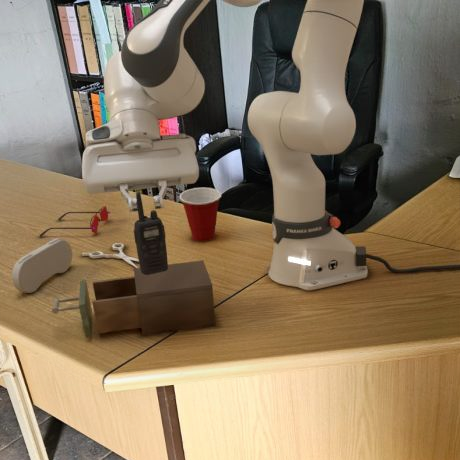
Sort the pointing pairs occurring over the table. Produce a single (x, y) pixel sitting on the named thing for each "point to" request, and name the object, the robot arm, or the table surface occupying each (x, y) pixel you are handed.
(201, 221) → the plastic cup
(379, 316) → the table surface
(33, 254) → the game controller
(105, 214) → the glasses
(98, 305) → the drawer
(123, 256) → the scissors
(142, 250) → the two-way radio
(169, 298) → the cabinet
